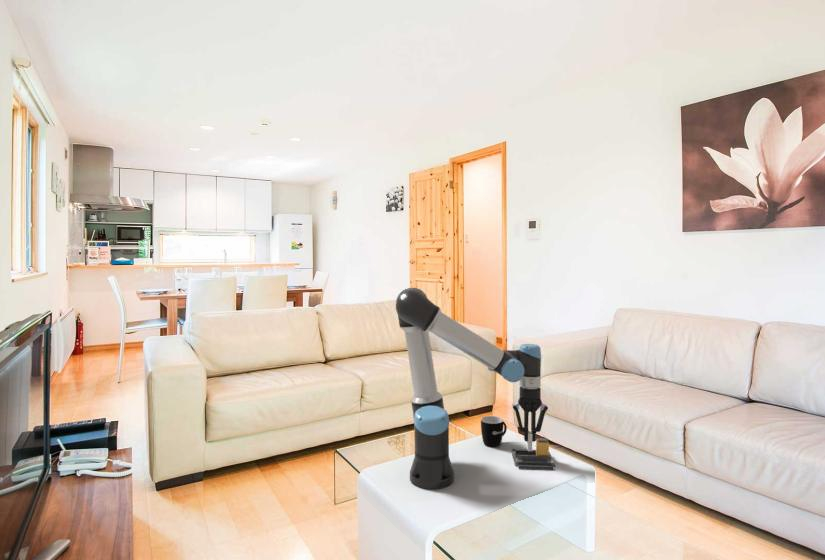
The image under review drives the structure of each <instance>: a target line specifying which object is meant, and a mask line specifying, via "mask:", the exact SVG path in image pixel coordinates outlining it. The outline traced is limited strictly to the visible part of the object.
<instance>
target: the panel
mask: <svg viewBox="0 0 825 560" xmlns="http://www.w3.org/2000/svg"><path fill="white" fill-rule="evenodd" d="M514 449H515V451H511V456H512V459H513V462H514V463H513V464H514V466H515V467H519V465H535V466H553V467H554V468H556V462H555V460H554V458H553V456H552V454H551V453H550V451H549V456H546V455H536V449H532V451H528V450H527V449H525V450H523V449H522V448H514Z"/></svg>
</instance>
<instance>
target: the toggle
mask: <svg viewBox="0 0 825 560" xmlns="http://www.w3.org/2000/svg"><path fill="white" fill-rule="evenodd" d="M535 450H536V455H546V456H549V452H550V443H549V440H548V439H547V438H545V437H544V438H543V437H542V438H540V437H539V438H535Z"/></svg>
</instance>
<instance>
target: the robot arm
mask: <svg viewBox="0 0 825 560" xmlns="http://www.w3.org/2000/svg"><path fill="white" fill-rule="evenodd" d="M395 311H396V313H397V317H398V325H399V328H400V329H401V330H403V331H404V337H405V343H406V350H407V355H408V362H409V369H410V375H411V381H412V387H413V394H414V395H413V396H412V397H411V399H410V403H411V407H412V409H411V410H412V417H413V423H414V424H413V425H414V427H413V428H414V429H413V430H414V432H413V433H414V458H413V461H412V463H411V464H412V465H411V467H410V470H409V481H410V482H411V483H412V484H413V485H414V486H416V487H419V488H422V489H426V490H436V489H443V488H447V487H449V486H450V485H452V484H453V483H454V481H455V472H454V471H455V470H454V468H453V465H452V461H451V458H450V451H449V450H450V441H449V440H450V437H449V436H450V433H449V430H450V428H449V425H450V419H449V412H448V411H447V410H446V409H445V405H444V399H443V394H442V393H440V392H439V391H438V388H437V381H436V373H435V368H434V362H433V361H434V360H433V354H432V348H431V347H432V346H431V340H430V334H429V332H430V333H432V334H433V335H435V336H437V337H438V338H439V339H441V340H443V341H444V342H446V343H448V344H449V345H451V346H453V347H454V348H456V349H458V350H459V351H461V352H463V353H464V354H466V355H468V356H469V357H470V358H472V359H474V360H476V361H478V362H479V363H480V364H482V365H483V366H486V367H487V370H488V371H491V372H494V373H497V374H498V375H500V376H501V377H503V379H504V380H506V381H508V382H510V383H517V382H519V398H518V400H517V402H515V403H513V404H511V406H512V409H513V411H514V412H515V417H516V420H517V426H518V428H519V431H520V432H523V440H524V442H526V450H528V451H532V450H533V442H535V443H536V433H539V432H541V430H542V427H543V426H542V425H543V422H544V418H545V415H546V412H547V411H548V409H549V408H548V406H547V404H544V403H543V402H542V398H541V390H542V389H541V384H542V383H541V380H542V379H541V376H542V375H541V374H542V373H541V372H542V371H541V367H542V364H541V363H542V351H541V350H542V349H541V347H540V345H538V344H535V343H534V344H533V343H522V344H520V346H519V348H518V349H516V350H515V349H512V350H511V349H509V350H508V349H507V350H505V349H501V348H499V347H498V346H496V345H494V344H493V343H492V342H490V341H489V340H487V339H485V338H483V336H480V335H479V334H477V333H475V332H474V331H472V330H471V329H469V328H467V327H466V326H464V325H463V324H461V323H460V322H458V321H456V320H455V319H453V318H451V317H450V316H449V315H447V314H445V313H443V312H442V311H441V308H440V307H439V306H438V305H436V304H434V303H433V302H432V301H431V300H430V299H429V298H428V297H427V295H426V293H425V292H424V291H422V289H420V288H416V287H408V288H405V289H403V290H401V292H399V294H398V295H397V297H396V302H395ZM520 408H521V410H523V420H524V421H523V423H522V418H521V414H520V411H519V409H520ZM539 408H540V411H539V415H538V418H536V416H537V411H538V410H539ZM529 413H530V414H531V415H530V429H531V430H529ZM536 420H537V422H536ZM523 424H524V425H523Z"/></svg>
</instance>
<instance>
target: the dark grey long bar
mask: <svg viewBox="0 0 825 560" xmlns="http://www.w3.org/2000/svg"><path fill="white" fill-rule="evenodd" d="M554 469H555V467H553V466H535V465H519V466H518V470H537V471H539V470H540V471H543V470H545V471H554Z"/></svg>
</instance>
